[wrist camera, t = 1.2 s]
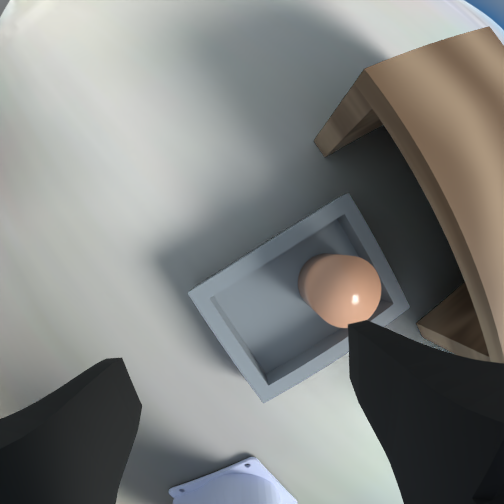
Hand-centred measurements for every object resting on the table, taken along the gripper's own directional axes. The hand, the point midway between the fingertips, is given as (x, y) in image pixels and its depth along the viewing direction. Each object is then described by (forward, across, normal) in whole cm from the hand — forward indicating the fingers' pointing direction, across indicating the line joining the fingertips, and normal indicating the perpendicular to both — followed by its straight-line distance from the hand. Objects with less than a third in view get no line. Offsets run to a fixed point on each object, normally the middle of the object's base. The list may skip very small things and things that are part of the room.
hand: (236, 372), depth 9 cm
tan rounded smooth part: (+12, -6, +2) cm, 14 cm away
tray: (+13, -4, +3) cm, 14 cm away
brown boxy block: (+15, -16, -2) cm, 22 cm away
